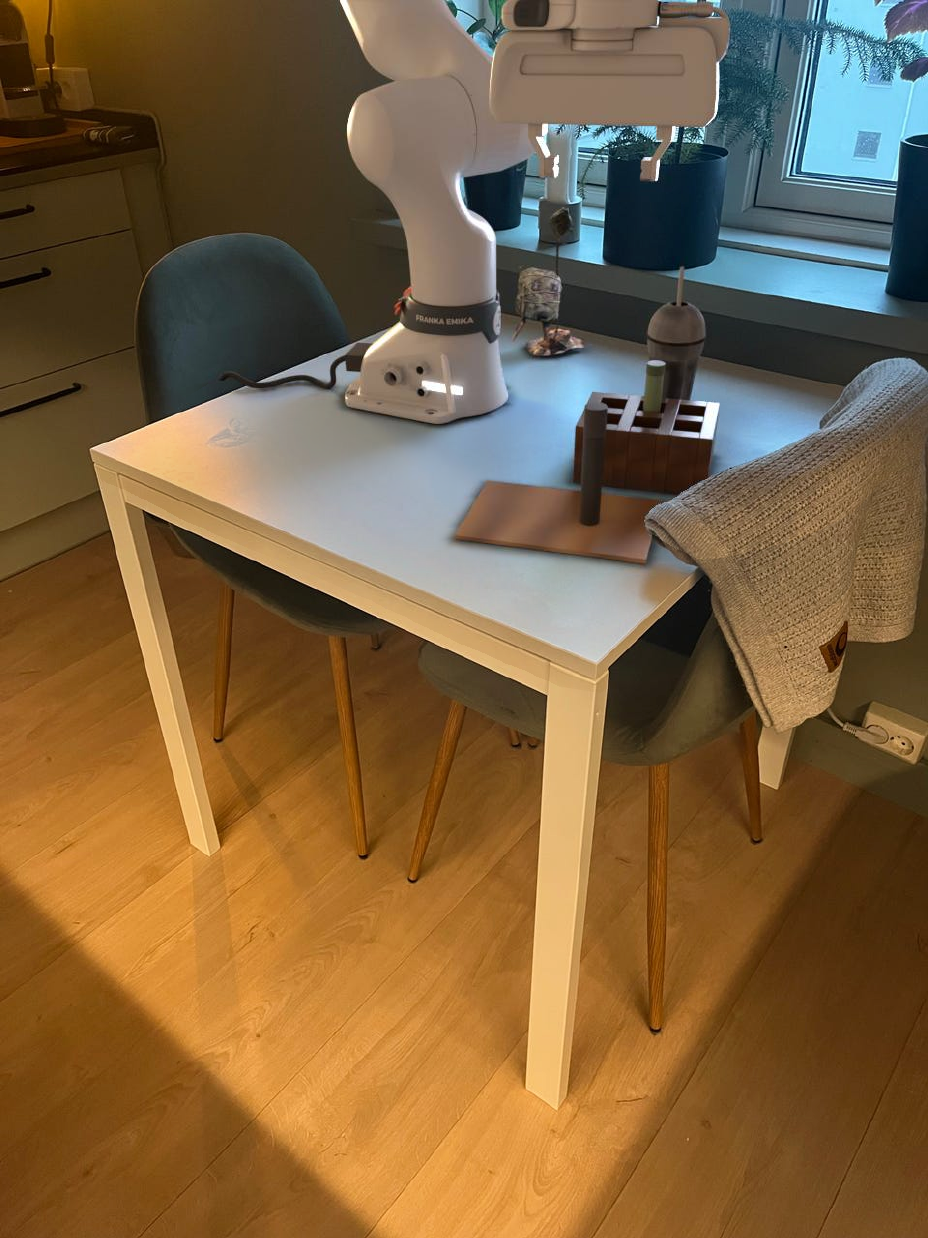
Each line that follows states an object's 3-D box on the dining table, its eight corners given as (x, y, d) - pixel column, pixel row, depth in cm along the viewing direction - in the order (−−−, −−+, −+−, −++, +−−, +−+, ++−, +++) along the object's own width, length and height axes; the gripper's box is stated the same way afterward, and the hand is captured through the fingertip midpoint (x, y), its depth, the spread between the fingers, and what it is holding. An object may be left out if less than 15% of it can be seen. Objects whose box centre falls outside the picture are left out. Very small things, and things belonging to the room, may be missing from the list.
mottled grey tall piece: (508, 341, 151) (509, 206, 139) (580, 338, 151) (586, 203, 140) (513, 359, 144) (514, 219, 133) (588, 356, 144) (595, 216, 133)
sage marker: (636, 464, 114) (645, 365, 107) (639, 457, 116) (647, 358, 109) (654, 466, 114) (664, 367, 107) (656, 458, 115) (666, 360, 108)
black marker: (576, 525, 102) (582, 409, 94) (580, 514, 104) (586, 400, 96) (598, 527, 101) (605, 411, 94) (601, 517, 103) (609, 402, 96)
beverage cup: (699, 415, 126) (719, 258, 114) (691, 438, 120) (711, 274, 108) (643, 409, 128) (657, 254, 116) (633, 431, 122) (647, 270, 110)
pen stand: (572, 482, 111) (575, 426, 107) (589, 445, 119) (592, 391, 115) (705, 497, 107) (712, 439, 103) (712, 457, 115) (720, 402, 111)
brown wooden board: (454, 539, 101) (454, 535, 101) (487, 484, 111) (487, 480, 111) (645, 564, 96) (645, 559, 96) (661, 504, 106) (661, 500, 106)
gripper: (735, -2, 81) (714, 175, 89) (502, 1, 86) (502, 168, 94) (730, 2, 76) (709, 189, 84) (483, 5, 81) (485, 181, 89)
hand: (598, 178), depth 89 cm, fingers open, 8 cm apart
